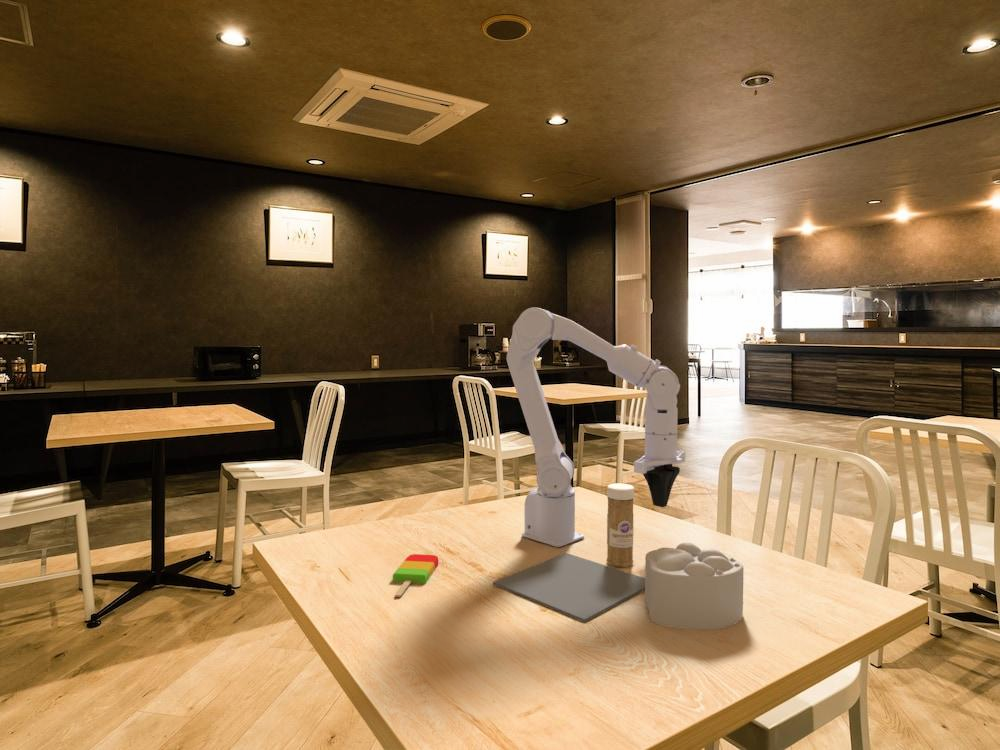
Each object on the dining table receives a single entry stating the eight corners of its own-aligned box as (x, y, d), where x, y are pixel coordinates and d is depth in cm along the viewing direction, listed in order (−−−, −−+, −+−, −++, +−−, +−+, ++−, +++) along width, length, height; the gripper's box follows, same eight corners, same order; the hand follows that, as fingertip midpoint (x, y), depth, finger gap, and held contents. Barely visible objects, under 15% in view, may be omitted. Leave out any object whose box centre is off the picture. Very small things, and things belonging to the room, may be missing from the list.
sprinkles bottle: (616, 570, 102) (617, 490, 101) (601, 560, 106) (601, 484, 105) (639, 565, 104) (640, 487, 103) (623, 556, 108) (623, 481, 107)
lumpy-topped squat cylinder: (642, 594, 93) (642, 538, 92) (731, 597, 91) (732, 540, 91) (652, 627, 82) (653, 564, 82) (753, 631, 81) (754, 567, 80)
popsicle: (440, 565, 106) (440, 554, 106) (415, 603, 91) (415, 590, 91) (409, 563, 107) (409, 552, 107) (379, 600, 92) (379, 588, 92)
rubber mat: (492, 584, 96) (492, 581, 96) (566, 555, 109) (566, 552, 109) (584, 622, 84) (584, 619, 84) (655, 584, 96) (655, 581, 96)
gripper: (659, 440, 105) (658, 518, 106) (700, 430, 115) (699, 502, 116) (624, 435, 110) (623, 510, 111) (666, 426, 120) (665, 495, 121)
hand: (660, 505), depth 114 cm, fingers closed
